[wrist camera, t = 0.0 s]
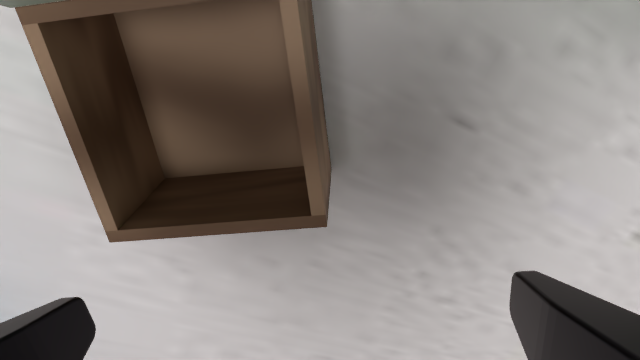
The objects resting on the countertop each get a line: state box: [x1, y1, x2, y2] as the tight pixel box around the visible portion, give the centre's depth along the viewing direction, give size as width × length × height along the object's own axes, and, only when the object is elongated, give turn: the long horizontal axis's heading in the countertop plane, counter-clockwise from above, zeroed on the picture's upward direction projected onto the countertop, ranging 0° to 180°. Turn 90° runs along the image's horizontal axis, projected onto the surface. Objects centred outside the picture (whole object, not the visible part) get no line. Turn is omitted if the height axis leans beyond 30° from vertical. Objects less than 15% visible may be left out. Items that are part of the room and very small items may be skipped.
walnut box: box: [15, 0, 331, 242], centre depth 19 cm, size 10×10×6 cm
